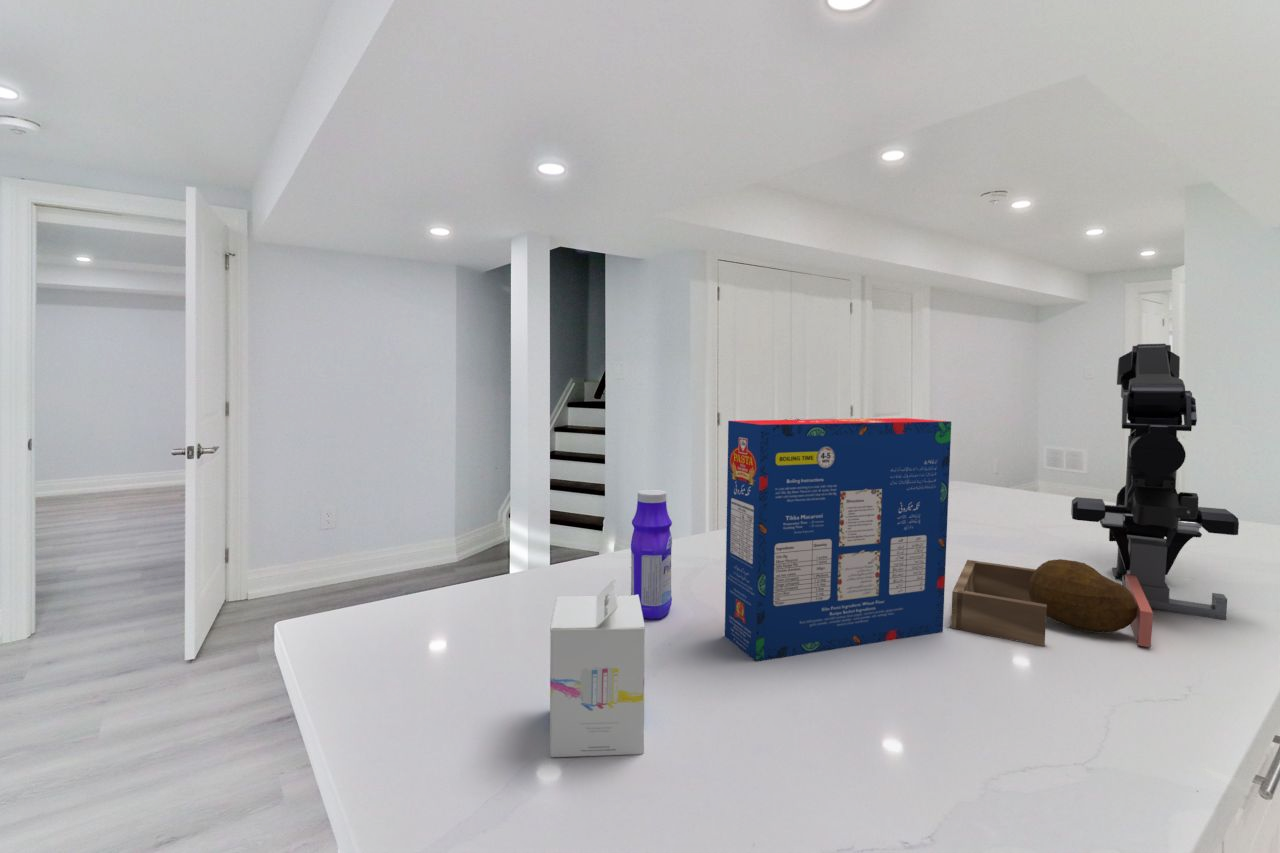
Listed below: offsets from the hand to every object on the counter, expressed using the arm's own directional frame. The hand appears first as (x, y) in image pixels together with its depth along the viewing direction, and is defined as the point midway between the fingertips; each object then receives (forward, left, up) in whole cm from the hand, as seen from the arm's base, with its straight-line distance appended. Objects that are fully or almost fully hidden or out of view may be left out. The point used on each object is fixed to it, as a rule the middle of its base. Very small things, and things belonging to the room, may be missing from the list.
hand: (1145, 572), depth 93 cm
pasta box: (+37, -35, -5) cm, 51 cm away
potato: (+16, -9, -5) cm, 19 cm away
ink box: (+73, -47, -5) cm, 87 cm away
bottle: (+44, -59, -5) cm, 74 cm away
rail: (0, -2, -5) cm, 6 cm away
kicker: (+9, 0, -5) cm, 10 cm away
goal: (+17, -17, -5) cm, 25 cm away
